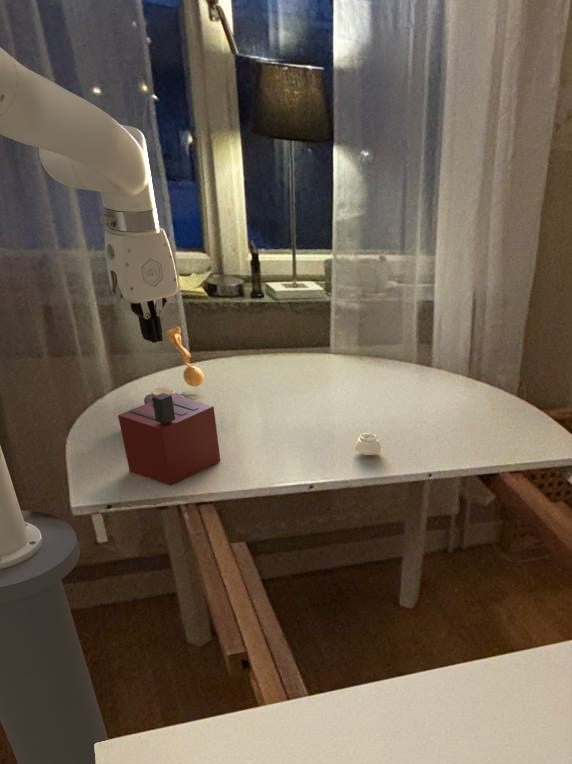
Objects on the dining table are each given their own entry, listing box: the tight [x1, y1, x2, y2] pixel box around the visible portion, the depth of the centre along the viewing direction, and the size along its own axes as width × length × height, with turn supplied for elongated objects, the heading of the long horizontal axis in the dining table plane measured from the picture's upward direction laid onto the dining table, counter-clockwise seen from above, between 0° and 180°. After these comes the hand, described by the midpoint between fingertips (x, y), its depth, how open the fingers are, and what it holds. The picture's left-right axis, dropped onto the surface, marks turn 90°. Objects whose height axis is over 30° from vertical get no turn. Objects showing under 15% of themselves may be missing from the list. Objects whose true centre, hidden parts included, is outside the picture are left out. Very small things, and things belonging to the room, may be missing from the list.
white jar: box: [354, 432, 383, 456], centre depth 142 cm, size 5×3×5 cm
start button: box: [150, 387, 176, 397], centre depth 143 cm, size 4×4×2 cm
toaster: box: [117, 394, 221, 487], centre depth 128 cm, size 12×9×10 cm
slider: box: [152, 393, 175, 424], centre depth 121 cm, size 2×2×4 cm
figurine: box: [166, 326, 205, 388], centre depth 156 cm, size 8×6×12 cm
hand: (153, 339), depth 131 cm, fingers closed
